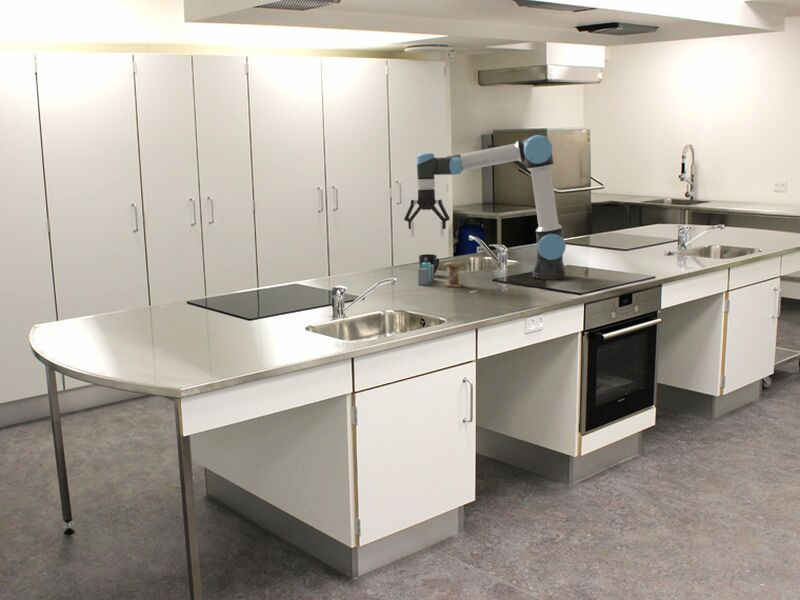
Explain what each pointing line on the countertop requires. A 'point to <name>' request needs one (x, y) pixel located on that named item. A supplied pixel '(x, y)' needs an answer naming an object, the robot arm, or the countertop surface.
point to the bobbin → (453, 274)
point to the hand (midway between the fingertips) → (427, 236)
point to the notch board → (425, 275)
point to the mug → (429, 260)
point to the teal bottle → (427, 265)
